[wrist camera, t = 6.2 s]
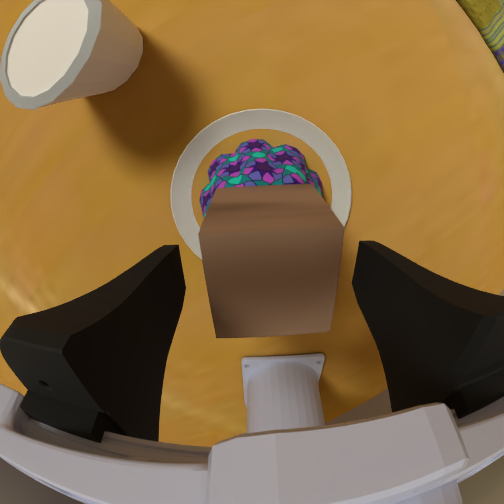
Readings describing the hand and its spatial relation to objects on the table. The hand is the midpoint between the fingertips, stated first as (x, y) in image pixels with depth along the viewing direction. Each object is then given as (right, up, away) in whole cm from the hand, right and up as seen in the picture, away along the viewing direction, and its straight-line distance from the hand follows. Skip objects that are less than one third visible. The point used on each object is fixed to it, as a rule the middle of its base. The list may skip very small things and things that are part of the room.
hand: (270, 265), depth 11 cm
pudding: (0, +4, +8) cm, 9 cm away
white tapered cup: (-10, +13, +2) cm, 17 cm away
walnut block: (0, +2, +3) cm, 3 cm away
